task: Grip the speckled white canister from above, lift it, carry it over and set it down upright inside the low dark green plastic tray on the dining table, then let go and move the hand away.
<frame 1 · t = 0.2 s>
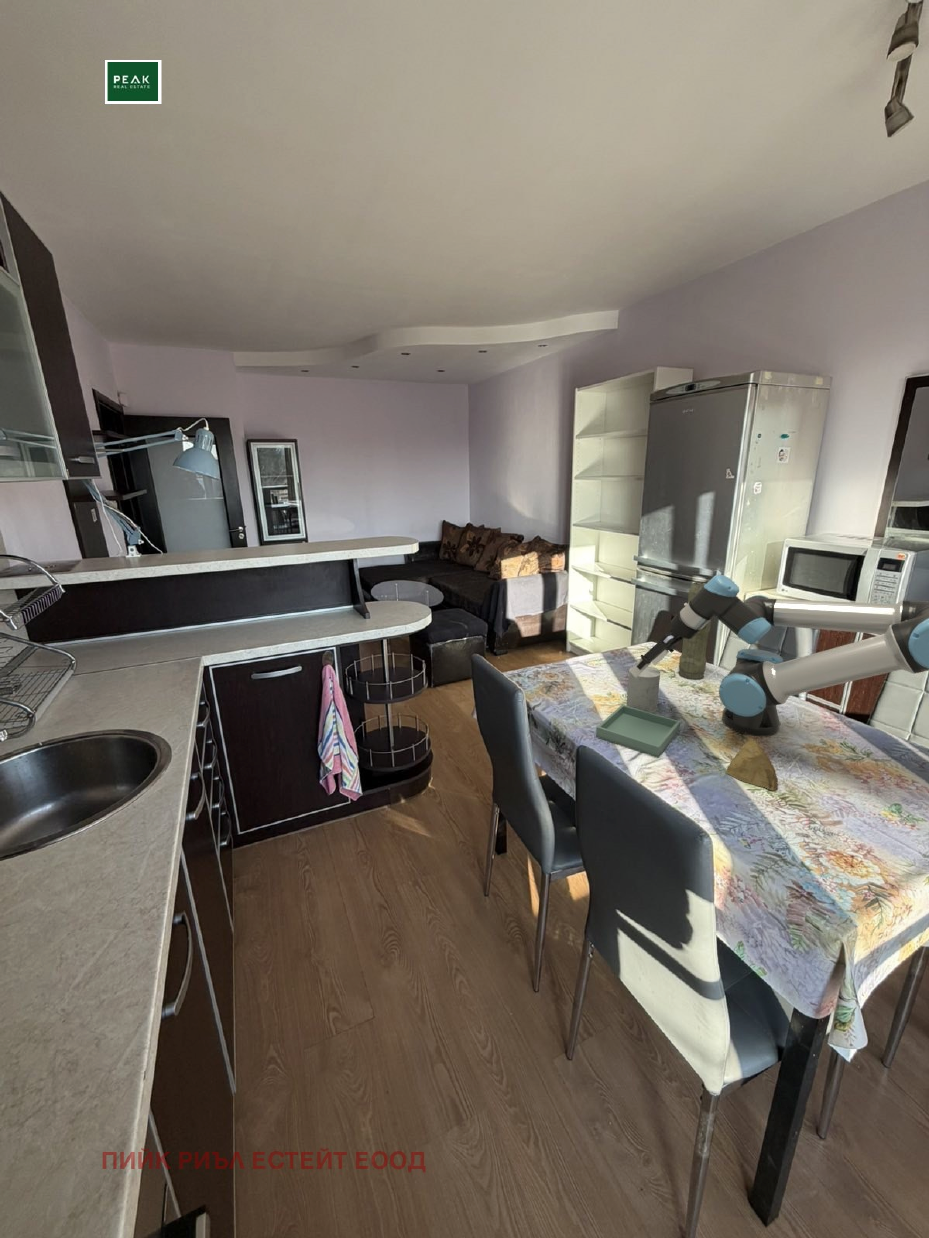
hand: (642, 668, 157), 15 cm above the table, tool tilted 35°, fingers open, 13 cm apart
thermos: (691, 675, 189), on the table
speckled white canister: (641, 706, 166), on the table
rock: (751, 781, 127), on the table
tray: (638, 733, 149), on the table
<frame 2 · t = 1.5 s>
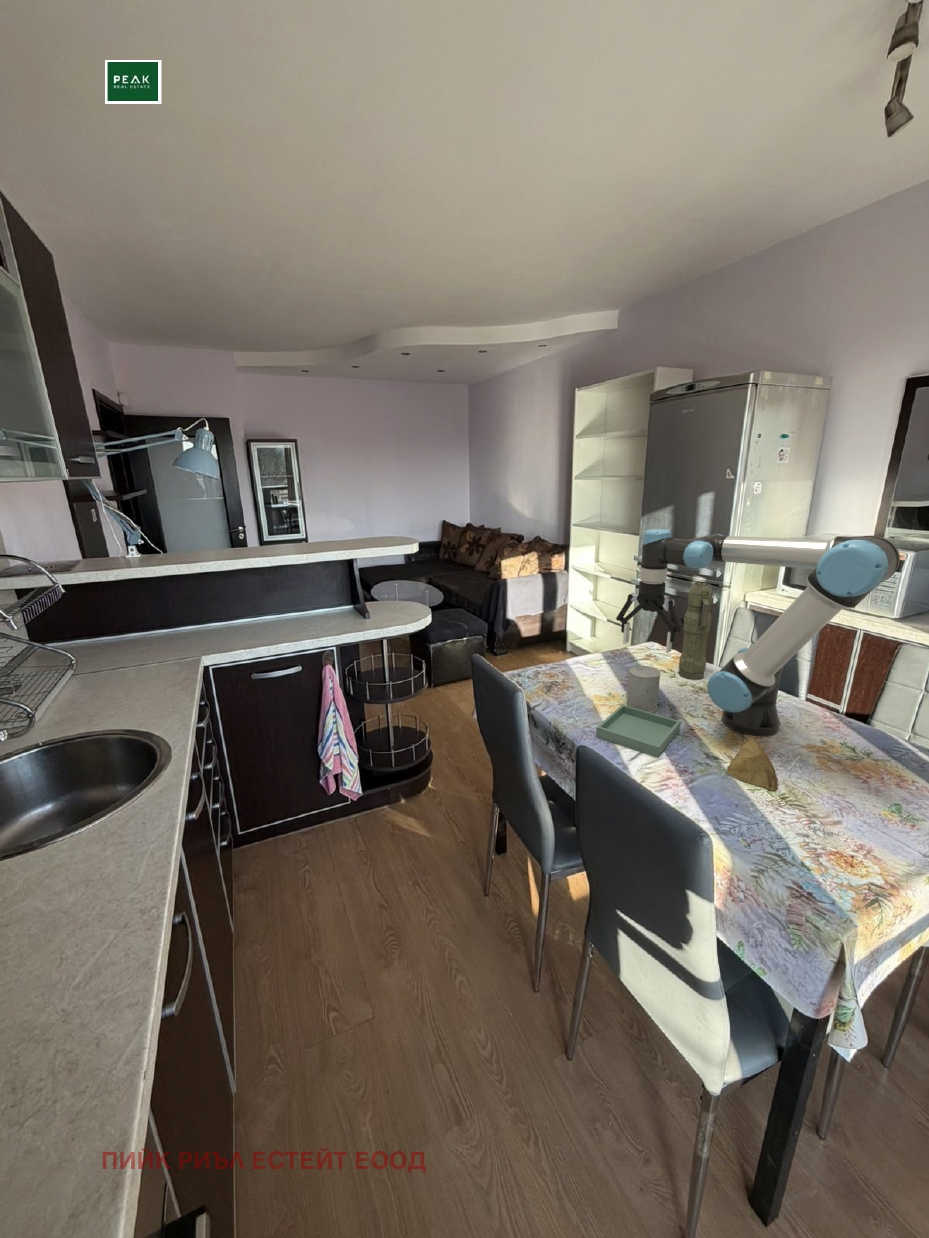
hand: (646, 647, 160), 21 cm above the table, tool pointing down, fingers open, 13 cm apart
nothing on the table moved.
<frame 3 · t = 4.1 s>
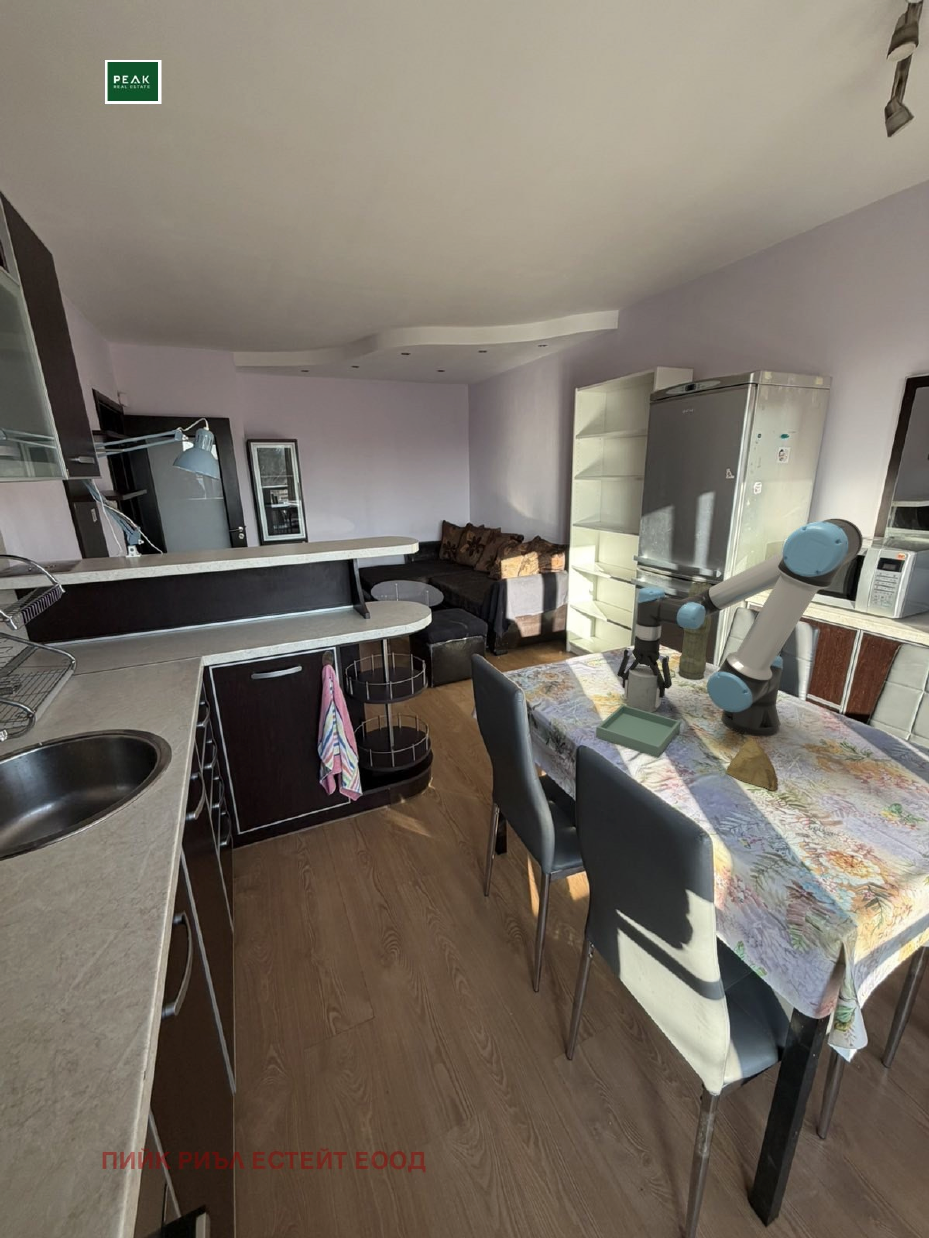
hand: (642, 701, 166), 2 cm above the table, tool pointing down, fingers closed on speckled white canister, 9 cm apart
speckled white canister: (641, 706, 166), on the table, touching gripper
everything else where it was.
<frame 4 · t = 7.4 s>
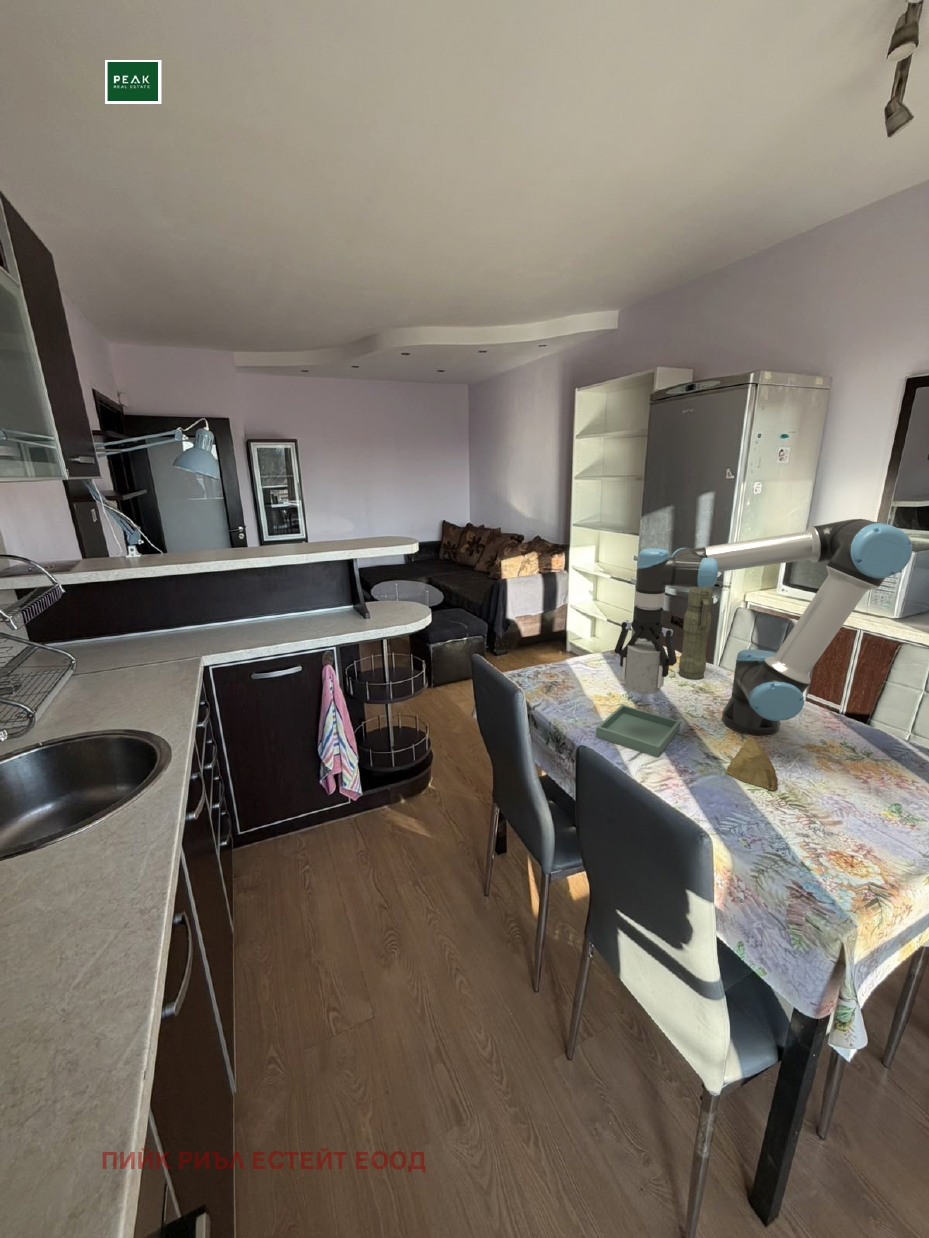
hand: (642, 681, 145), 17 cm above the table, tool pointing down, fingers closed on speckled white canister, 9 cm apart
speckled white canister: (641, 687, 145), point 15 cm above the table, touching gripper
everything else where it was.
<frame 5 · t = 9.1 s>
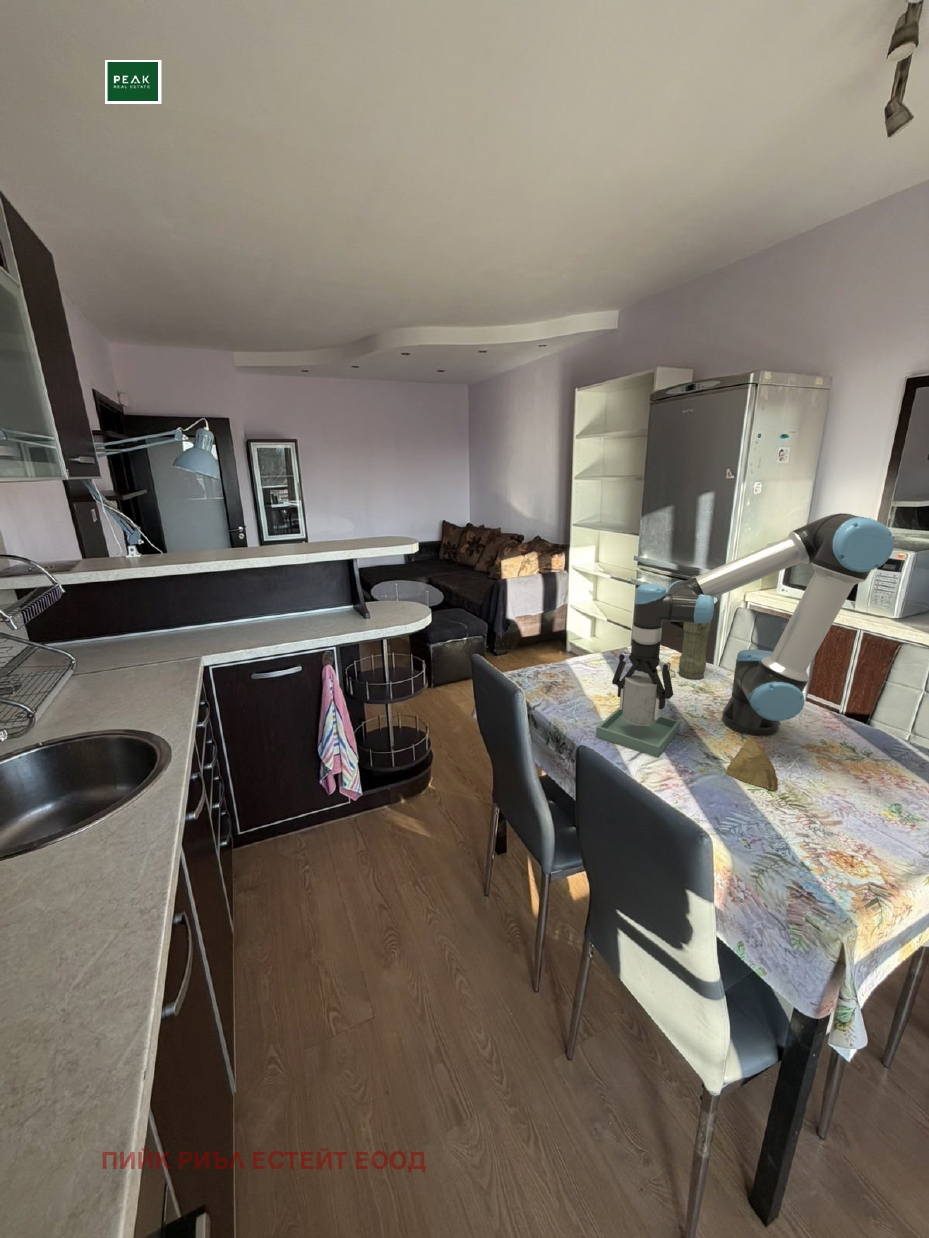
hand: (639, 712, 147), 7 cm above the table, tool pointing down, fingers closed on speckled white canister, 9 cm apart
speckled white canister: (638, 718, 148), point 5 cm above the table, touching gripper
everything else where it was.
when the fingers open (4 cm above the table, at t = 10.6 s): speckled white canister drops 2 cm, resting on tray.
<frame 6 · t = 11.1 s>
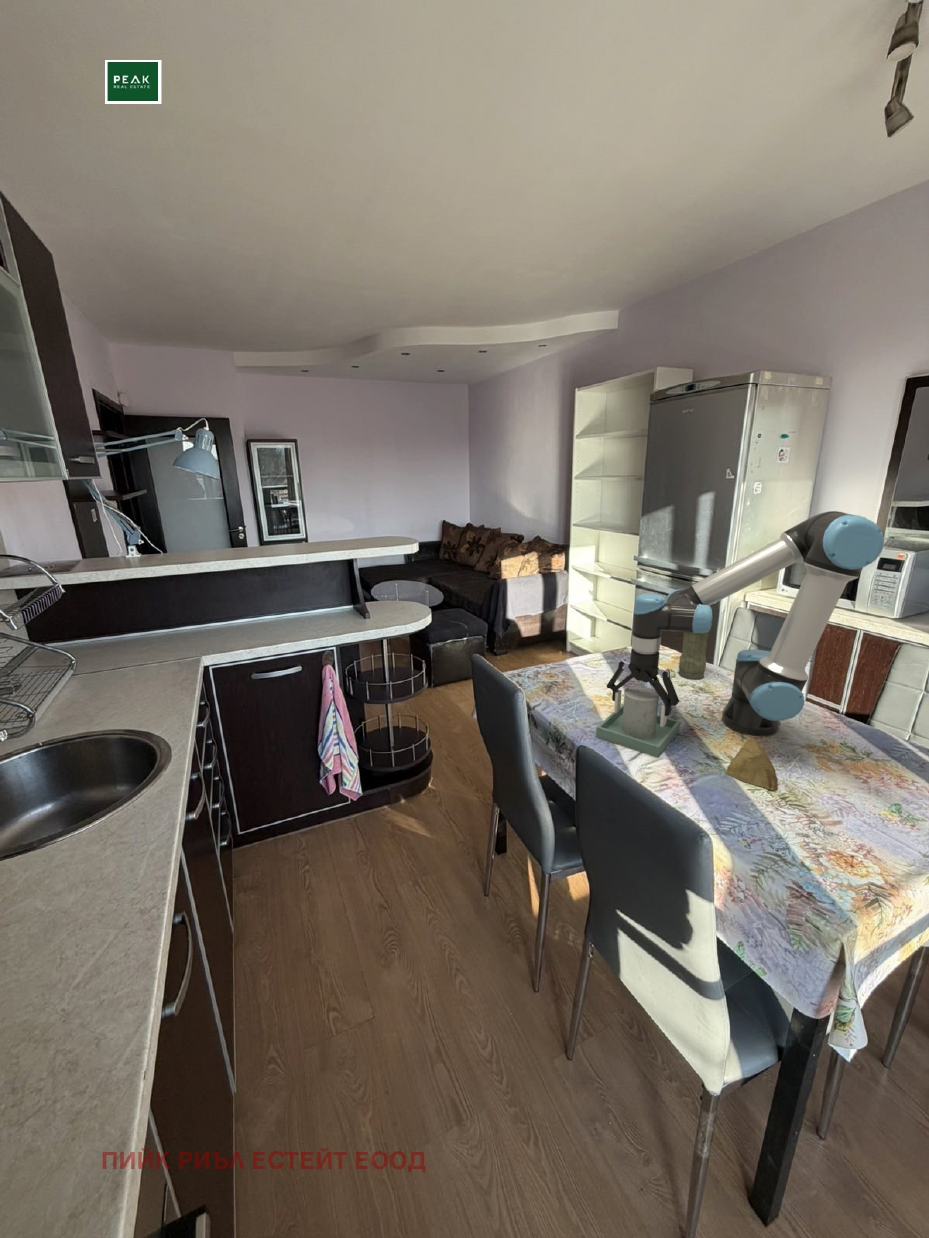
hand: (639, 718, 148), 5 cm above the table, tool pointing down, fingers open, 13 cm apart
speckled white canister: (638, 732, 149), point 1 cm above the table, touching tray
everything else where it was.
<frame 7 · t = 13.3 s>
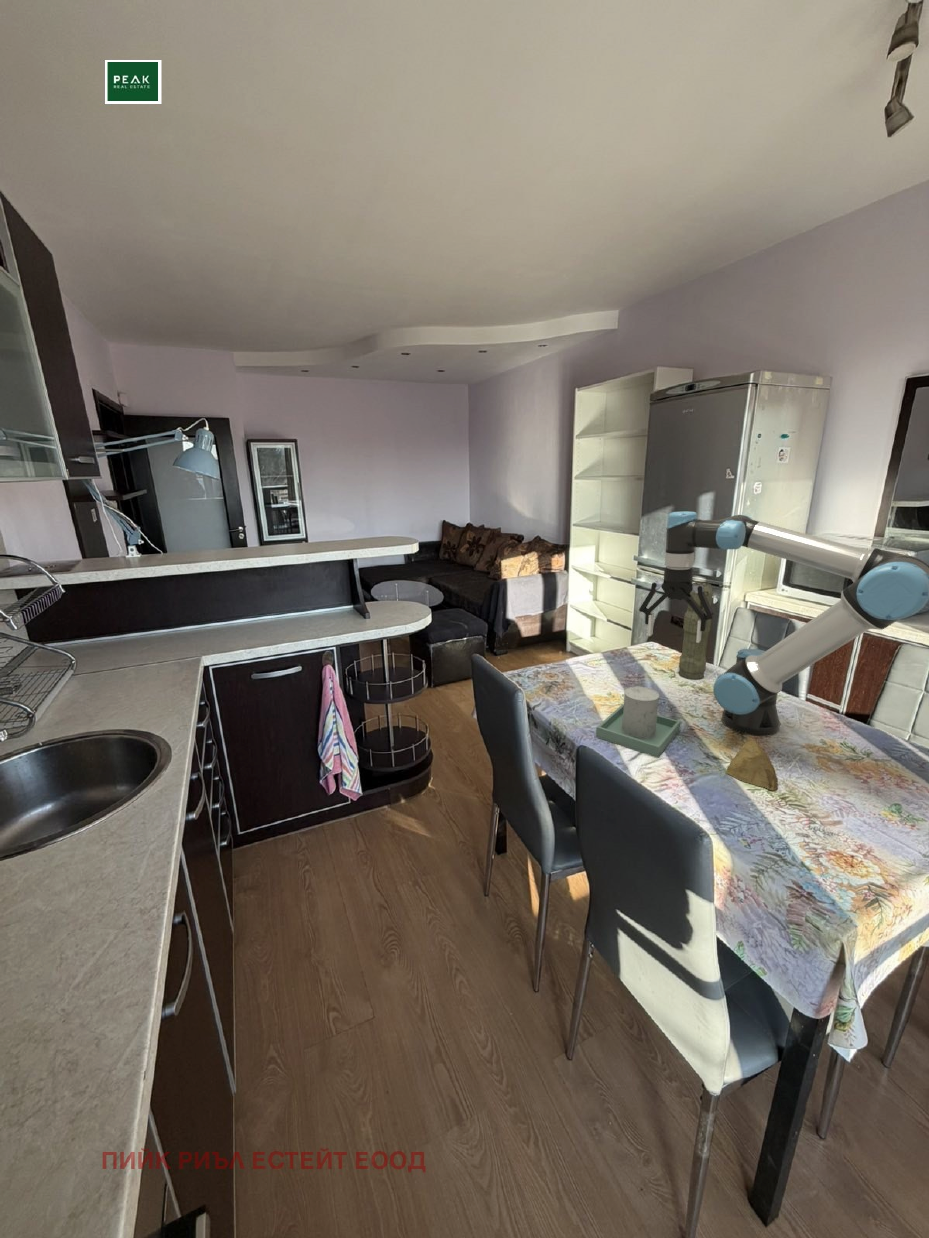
hand: (673, 638, 150), 26 cm above the table, tool pointing down, fingers open, 13 cm apart
nothing on the table moved.
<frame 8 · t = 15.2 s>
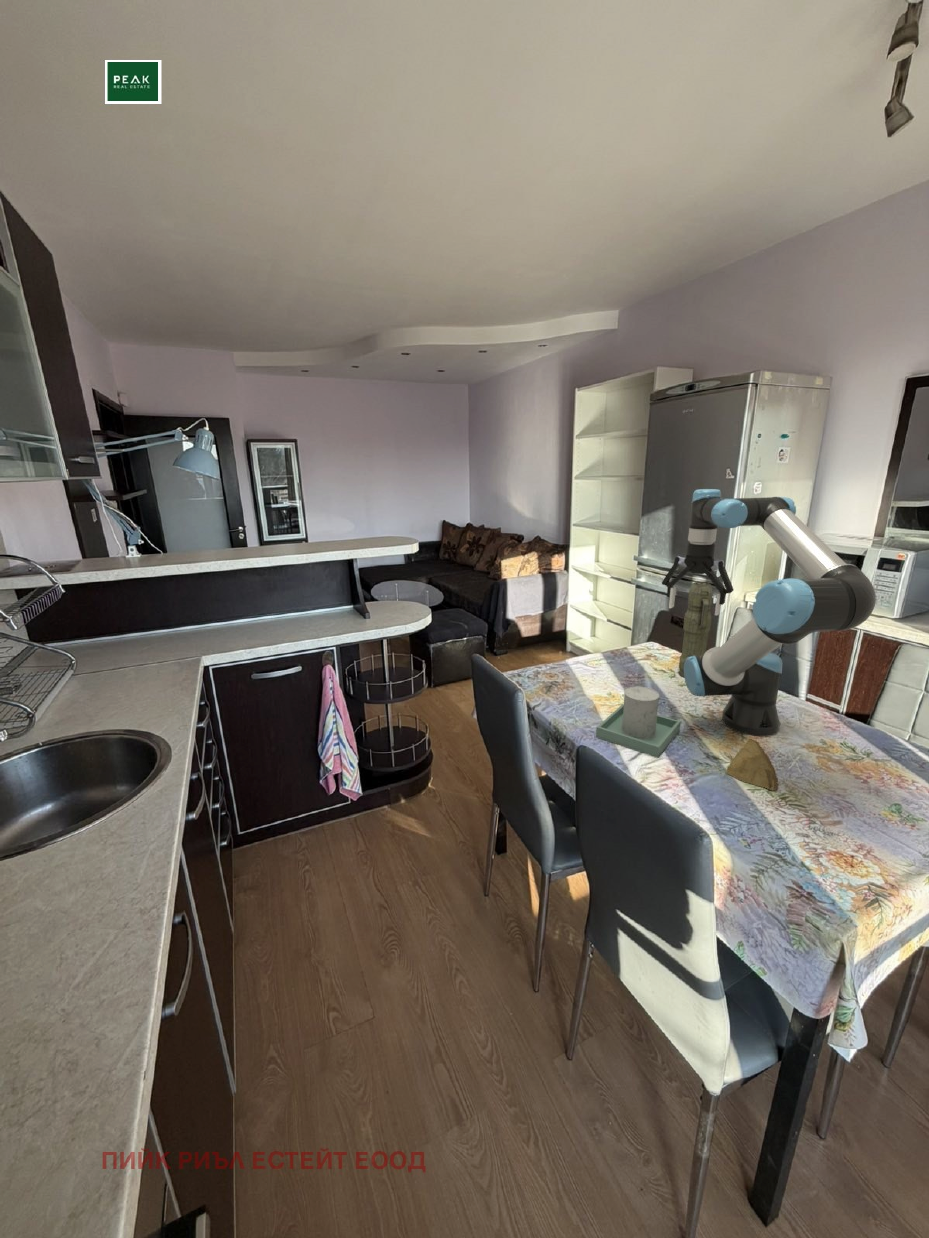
hand: (693, 610, 158), 32 cm above the table, tool pointing down, fingers open, 13 cm apart
nothing on the table moved.
at the end: speckled white canister inside the target area on the tray (0.0 cm from its centre), point 0.6 cm above the tray's base; speckled white canister tilted 0°; the gripper is holding nothing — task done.
